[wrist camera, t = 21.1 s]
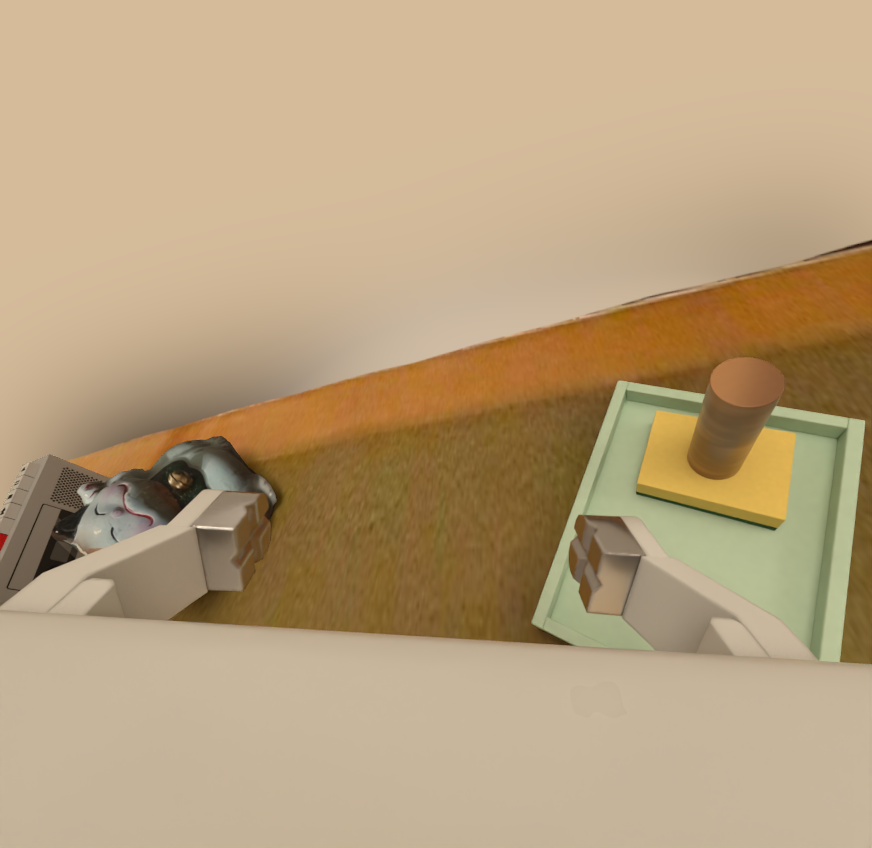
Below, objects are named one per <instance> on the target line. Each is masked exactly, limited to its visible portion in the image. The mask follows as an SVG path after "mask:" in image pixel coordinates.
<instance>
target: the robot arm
mask: <svg viewBox="0 0 872 848" xmlns="http://www.w3.org/2000/svg"><path fill="white" fill-rule="evenodd" d="M268 509H269V505H268V498H267V496H266V495H265V494H263V493H251V492H239V491H228V490H227V491H225V490H214V489H206V490H203V491H201V492H200V493H199V494H198V495H197V496H196V497H195V498H194V499H193V500H192V501H191V502H190V503H189V504H188V505H187V506H186V507H185V508H184V509H183V510H182V511H181V512H180V513H179V514H178V515H177V516H176V517H175V518H174V519H173V520H172V521H171V522H170V523H169V524H167V525H159V526H157V527H154V528H152V529H149V530H147V531H144V532H142V533H139V534H137V535H135V536H132V537H130V538H127V539H125V540H122V541H120V542H117V543H115V544H112V545H110V546H108V547H105V548H103V549H100V550H98V551H95V552H93V553H90V554H88V555H85V556H83V557H81V558H78V559H76V560H73V561H71V562H68V563H66V564H63V565H61V566H58V567H56V568H54V569H51V570H49V571H46V572H44V573H42V574H41V575H39V576H38V577H37V578H36V579H34V580H33V581H32V582H31V583H29V584H28V585H27V586H25V587H24V588H23V589H22V590H20V591H19V592H18V593H17V594H15V595H14V596H13V597H12V598H10V599H9V600H8V601H7V602H5V603H4V604H3V605H2V606H0V848H872V664H861V663H844V662H828V661H819V660H818V659H817V658H816V657H815V656H814V654H813V653H812V652H811V651H810V650H809V649H808V648H807V647H806V646H805V645H804V644H803V643H802V641H801V640H800V639H799V638H798V637H797V636H796V635H795V634H794V633H793V632H792V631H791V629H790V628H789V627H788V626H787V625H786V624H785V623H784V622H783V621H782V620H781V619H779V618H777V617H776V616H774V615H772V614H771V613H769V612H767V611H765V610H764V609H762V608H760V607H759V606H757V605H755V604H753V603H752V602H750V601H748V600H747V599H745V598H743V597H742V596H740V595H738V594H736V593H735V592H733V591H731V590H730V589H728V588H726V587H724V586H723V585H721V584H719V583H718V582H716V581H714V580H712V579H711V578H709V577H707V576H706V575H704V574H702V573H700V572H699V571H697V570H695V569H694V568H692V567H690V566H689V565H687V564H685V563H683V562H682V561H680V560H678V559H677V558H670V557H669V556H668V555H667V553H666V552H665V551H664V549H663V548H662V547H661V545H660V544H659V543H658V541H657V540H656V539H655V537H654V536H653V535H652V533H651V532H650V531H649V529H648V528H647V527H646V525H645V524H644V523H643V521H642V520H641V519H640V518H638V517H631V516H598V515H578V517H577V519H576V521H575V525H574V529H575V531H576V533H577V535H578V536H577V537H575V538H574V539H573V540H572V541H571V542H570V547H569V567H570V572H571V574H572V577H573V579H574V580H576V581H577V582H578V583H579V584H580V587H579V591H578V592H579V595H580V597H581V600H582V602H583V605H584V607H585V609H586V612H587V613H593V614H604V615H615V616H622V618H623V619H624V620H625V621H626V622H627V623H628V624H629V625H630V626H631V627H632V628H633V629H634V630H635V631H636V632H637V633H638V634H639V635H640V636H641V637H642V638H643V639H644V640H645V641H646V642H648V643H649V644H650V645H651V646H652V647H653V648H654V649H655V650H656V651H651V650H634V649H618V648H602V647H586V646H570V645H554V644H538V643H522V642H506V641H490V640H474V639H457V638H441V637H424V636H408V635H392V634H376V633H360V632H344V631H328V630H312V629H296V628H280V627H264V626H248V625H232V624H216V623H200V622H184V621H168V620H169V619H171V618H172V617H173V616H175V615H176V614H178V613H179V612H180V611H182V610H183V609H184V608H186V607H187V606H189V605H190V604H191V603H193V602H194V601H196V600H197V599H198V598H200V597H201V596H203V595H204V594H205V593H207V592H208V591H207V590H219V591H244V590H245V588H246V586H247V585H248V583H249V581H250V580H251V578H252V576H253V575H254V573H255V563H257V562H258V561H260V560H262V559H263V558H264V556H265V554H266V552H267V551H268V547H269V544H270V540H271V522H270V521H269V520H268V519H267V518H266V517H265V516H264V515H265V513H266V512H267V510H268Z"/></svg>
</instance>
